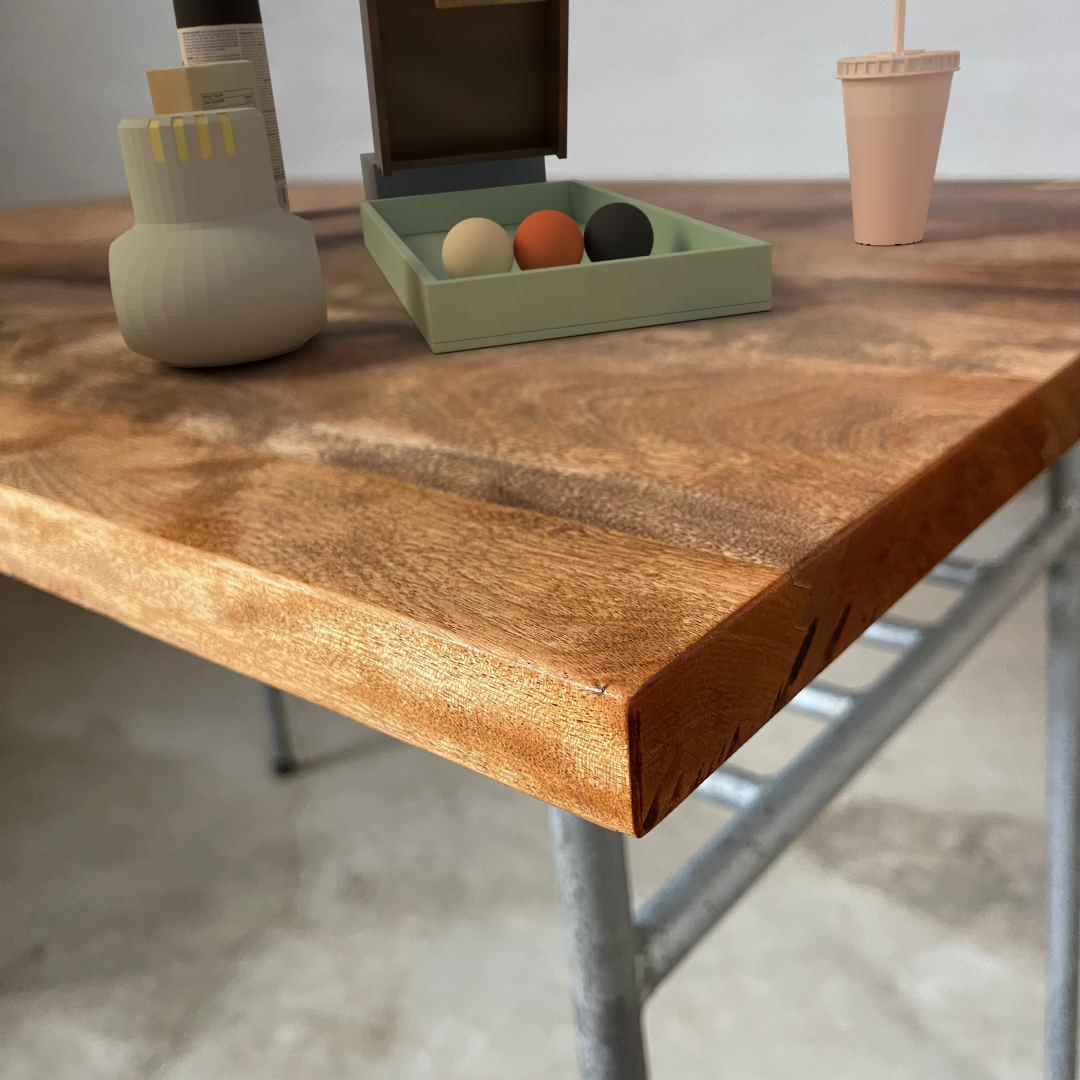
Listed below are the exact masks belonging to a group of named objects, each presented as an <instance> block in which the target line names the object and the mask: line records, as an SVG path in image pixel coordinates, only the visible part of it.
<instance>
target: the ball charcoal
mask: <svg viewBox="0 0 1080 1080" xmlns="http://www.w3.org/2000/svg"><path fill="white" fill-rule="evenodd" d="M583 239H584V248H585V252H586V254H587V256H588V258H589V260H590V261H591V262H592V263H593V262H601V261H610V260H618V259H627V258H635V257H644V256H650V254H651V251H652V248H653V243H654V233H653V228H652V225H651V223H650V221H649V219H648V217H647V216H646V215H645V214H644V212H642V211H641V210H640V209H639V208H637V207H636V206H634V205H631V204H628V203H623V202H615V203H610V204H607V205H605V206H603V207H601V208H599V209H598V210H597V211H596V212H595V213H594V214H593V215H592V216H591V217H590V219H589V220H588V222H587V224H586V227H585V230H584V237H583Z"/></svg>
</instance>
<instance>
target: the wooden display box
mask: <svg viewBox="0 0 1080 1080" xmlns="http://www.w3.org/2000/svg"><path fill="white" fill-rule="evenodd" d="M358 2H359V4H358V5H359V15H360V23H361V33H362V43H363V52H364V53H363V54H364V63H365V72H366V73H365V74H366V84H367V91H368V100H369V101H368V102H369V113H370V122H371V131H372V133H371V134H372V142H373V150H374V151H373V153H375V160H376V163H377V166H378V169H379V172H382V174H383V177H388V176H392V171H398V170H408V169H418V168H428V167H438V166H448V165H458V164H468V163H478V162H489V161H499V160H509V159H519V158H529V157H539V156H545V157H549V156H556V158H557V159H558V160H567V158H568V121H569V120H568V119H569V117H568V110H569V39H570V38H569V37H570V34H569V33H570V32H569V31H570V30H569V29H570V0H358Z"/></svg>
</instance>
